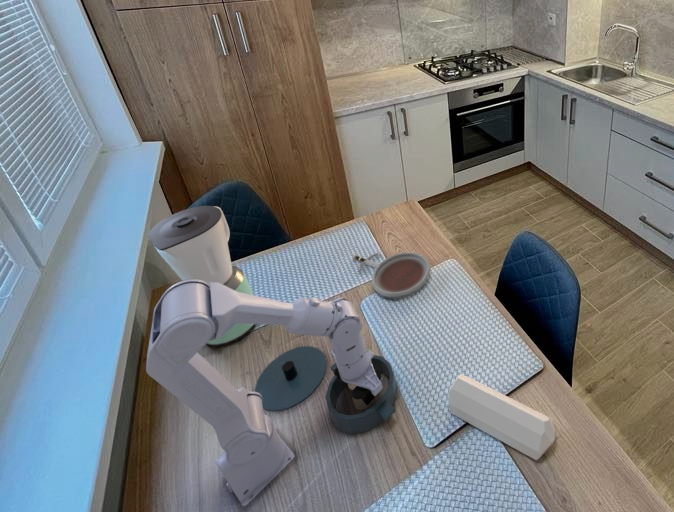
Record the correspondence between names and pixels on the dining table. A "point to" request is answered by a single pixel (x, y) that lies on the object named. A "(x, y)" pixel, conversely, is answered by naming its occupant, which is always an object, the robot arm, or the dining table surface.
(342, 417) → the pot
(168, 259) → the blender
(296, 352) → the lid
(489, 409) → the beveled cream prism
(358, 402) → the cylinder
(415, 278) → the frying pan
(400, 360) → the dining table surface
